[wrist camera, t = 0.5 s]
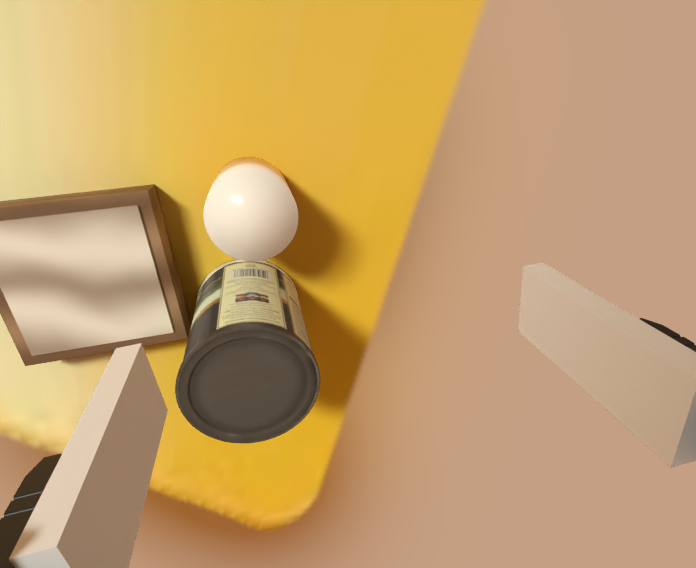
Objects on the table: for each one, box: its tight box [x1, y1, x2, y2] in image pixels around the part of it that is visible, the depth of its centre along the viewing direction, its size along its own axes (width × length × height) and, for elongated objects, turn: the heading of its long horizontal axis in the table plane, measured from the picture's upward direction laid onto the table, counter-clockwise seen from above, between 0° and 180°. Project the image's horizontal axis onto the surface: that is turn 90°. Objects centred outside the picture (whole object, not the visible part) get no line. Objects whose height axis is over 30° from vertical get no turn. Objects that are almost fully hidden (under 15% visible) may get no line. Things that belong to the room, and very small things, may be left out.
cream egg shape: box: [204, 157, 298, 262], centre depth 36 cm, size 7×7×8 cm
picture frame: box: [0, 185, 191, 366], centre depth 37 cm, size 14×14×3 cm
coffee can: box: [175, 259, 320, 443], centre depth 37 cm, size 10×10×14 cm
